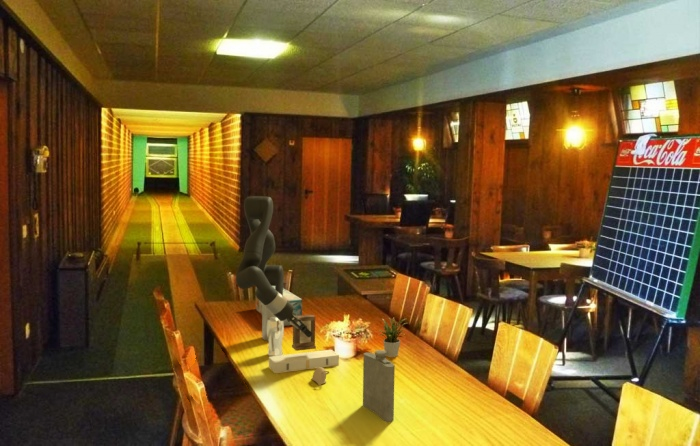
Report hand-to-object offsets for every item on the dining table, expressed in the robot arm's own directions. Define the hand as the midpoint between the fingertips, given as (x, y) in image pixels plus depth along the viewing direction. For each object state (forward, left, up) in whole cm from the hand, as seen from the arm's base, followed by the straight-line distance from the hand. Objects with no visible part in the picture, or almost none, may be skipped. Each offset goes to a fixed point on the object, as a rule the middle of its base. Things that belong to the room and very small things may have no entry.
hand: (308, 334), depth 247 cm
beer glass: (-8, -18, -13) cm, 24 cm away
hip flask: (+34, +40, -13) cm, 54 cm away
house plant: (-26, +28, -13) cm, 40 cm away
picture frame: (+1, -1, -5) cm, 6 cm away
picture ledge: (+1, -1, -12) cm, 13 cm away
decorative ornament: (+15, +11, -13) cm, 23 cm away
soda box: (-66, -46, -13) cm, 82 cm away
